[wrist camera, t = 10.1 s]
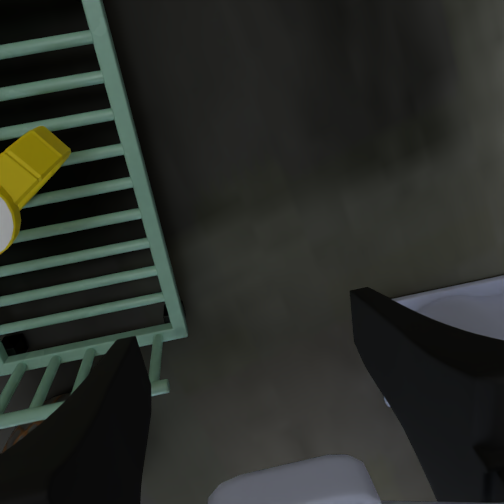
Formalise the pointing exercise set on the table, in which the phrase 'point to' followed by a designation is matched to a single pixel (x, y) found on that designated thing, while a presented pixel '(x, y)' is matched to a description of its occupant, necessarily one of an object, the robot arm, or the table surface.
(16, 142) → the watch
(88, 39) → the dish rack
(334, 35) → the table surface
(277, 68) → the table surface
